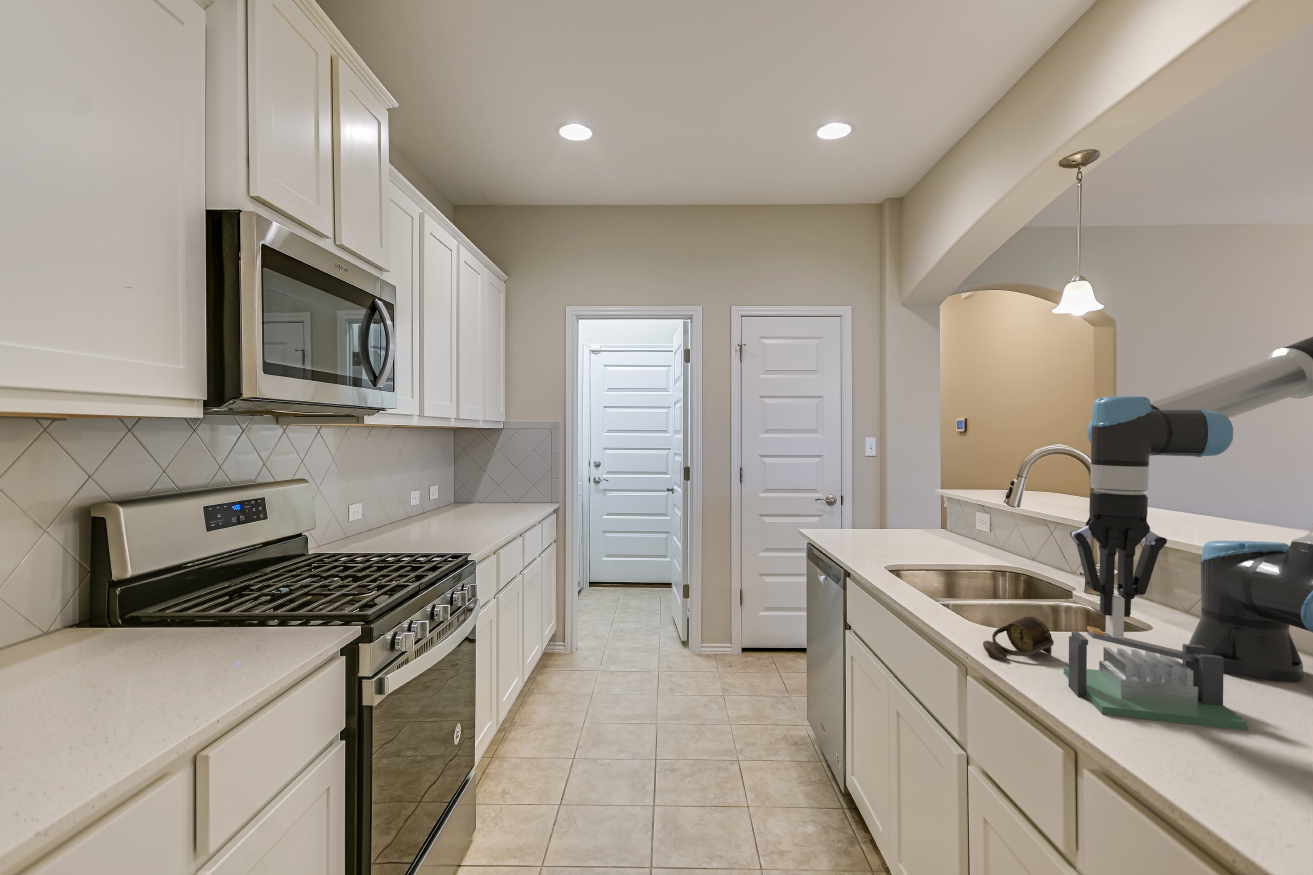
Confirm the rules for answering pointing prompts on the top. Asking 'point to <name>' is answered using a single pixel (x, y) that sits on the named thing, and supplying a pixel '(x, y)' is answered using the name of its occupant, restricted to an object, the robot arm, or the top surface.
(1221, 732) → the top surface
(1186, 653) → the strap
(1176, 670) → the heatsink
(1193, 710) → the board
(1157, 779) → the top surface
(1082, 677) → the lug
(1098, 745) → the top surface
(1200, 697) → the grey u-bracket
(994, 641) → the antique brown clock
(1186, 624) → the top surface
